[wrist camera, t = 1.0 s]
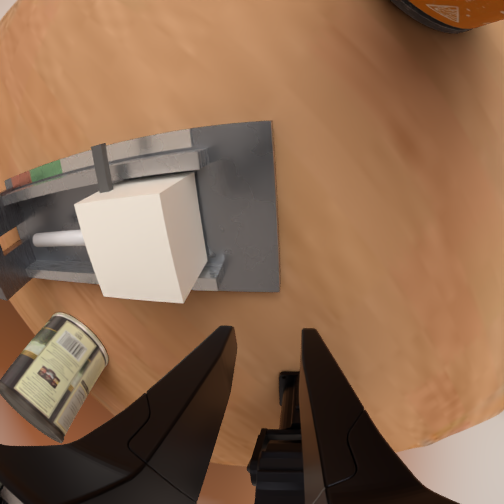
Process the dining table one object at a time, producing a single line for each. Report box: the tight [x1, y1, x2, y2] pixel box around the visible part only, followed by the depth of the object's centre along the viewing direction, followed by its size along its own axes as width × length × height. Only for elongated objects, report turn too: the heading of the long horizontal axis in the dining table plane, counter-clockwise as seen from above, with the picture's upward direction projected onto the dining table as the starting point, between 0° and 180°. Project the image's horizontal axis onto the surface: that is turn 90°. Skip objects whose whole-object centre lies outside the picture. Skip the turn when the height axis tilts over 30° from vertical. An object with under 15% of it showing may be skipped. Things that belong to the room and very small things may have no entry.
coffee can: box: [0, 313, 108, 443], centre depth 25 cm, size 10×10×14 cm
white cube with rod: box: [33, 143, 208, 303], centre depth 17 cm, size 9×15×5 cm, turn 95°
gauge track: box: [0, 121, 281, 300], centre depth 18 cm, size 12×28×7 cm, turn 95°
